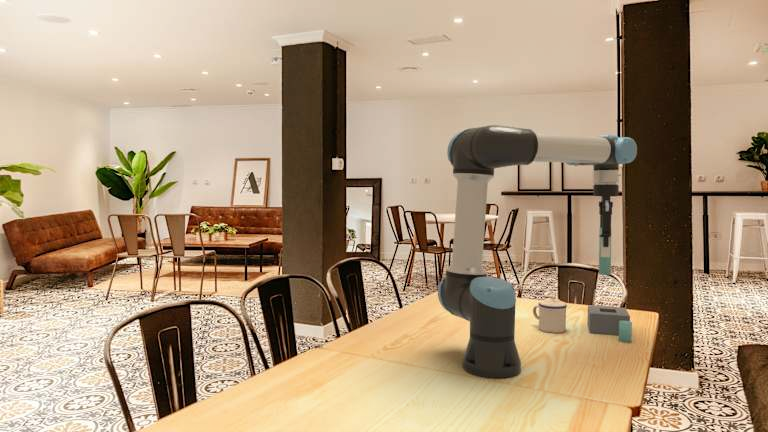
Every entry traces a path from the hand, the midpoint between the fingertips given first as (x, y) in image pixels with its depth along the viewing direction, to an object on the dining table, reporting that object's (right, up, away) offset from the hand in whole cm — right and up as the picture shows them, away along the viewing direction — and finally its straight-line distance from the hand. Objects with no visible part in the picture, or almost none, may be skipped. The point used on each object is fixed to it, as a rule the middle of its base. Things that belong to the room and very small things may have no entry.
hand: (604, 255), depth 172 cm
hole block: (+3, -25, +6) cm, 26 cm away
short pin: (+4, -26, -6) cm, 27 cm away
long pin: (0, -6, 0) cm, 6 cm away
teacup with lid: (-16, -25, +7) cm, 31 cm away
